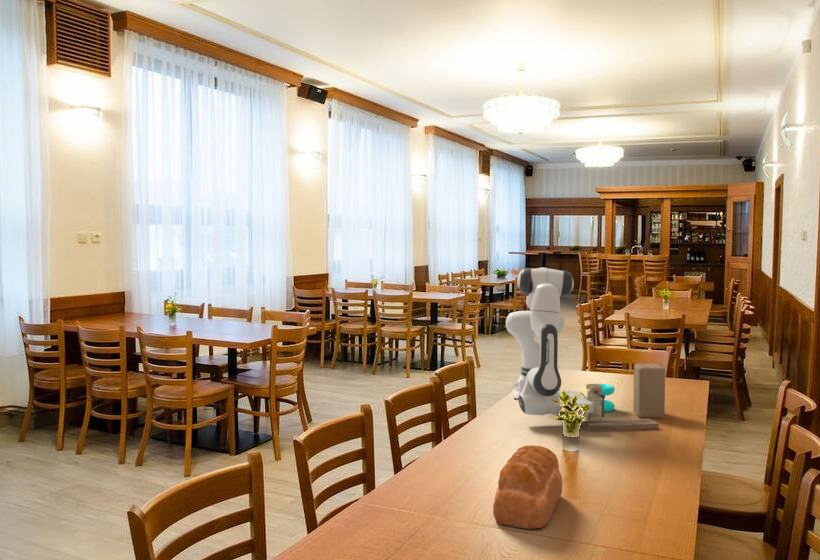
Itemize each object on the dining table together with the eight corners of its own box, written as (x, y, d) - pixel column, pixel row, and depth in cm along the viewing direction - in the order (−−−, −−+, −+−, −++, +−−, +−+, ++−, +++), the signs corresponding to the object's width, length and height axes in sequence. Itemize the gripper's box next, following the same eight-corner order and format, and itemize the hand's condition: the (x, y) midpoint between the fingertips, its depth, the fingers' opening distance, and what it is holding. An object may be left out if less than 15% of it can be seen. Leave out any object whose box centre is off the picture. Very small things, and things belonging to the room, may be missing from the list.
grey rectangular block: (658, 412, 273) (658, 363, 271) (665, 418, 263) (665, 368, 261) (632, 411, 274) (633, 363, 272) (638, 418, 264) (639, 367, 262)
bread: (489, 524, 168) (489, 464, 167) (515, 488, 192) (515, 435, 191) (544, 534, 162) (545, 471, 161) (565, 495, 187) (565, 440, 186)
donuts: (591, 388, 272) (587, 382, 282) (591, 412, 273) (587, 406, 283) (617, 388, 272) (612, 383, 281) (616, 412, 272) (611, 406, 282)
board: (583, 426, 253) (583, 420, 253) (650, 423, 256) (650, 418, 256) (590, 431, 246) (590, 425, 246) (658, 428, 249) (658, 423, 249)
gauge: (587, 419, 260) (587, 384, 259) (597, 419, 260) (597, 383, 259) (597, 427, 249) (598, 390, 248) (608, 427, 249) (608, 390, 248)
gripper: (570, 401, 246) (607, 400, 247) (553, 388, 266) (587, 387, 267) (570, 418, 246) (607, 416, 247) (553, 404, 266) (587, 403, 268)
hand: (596, 401), depth 257 cm, fingers closed on gauge, 4 cm apart
